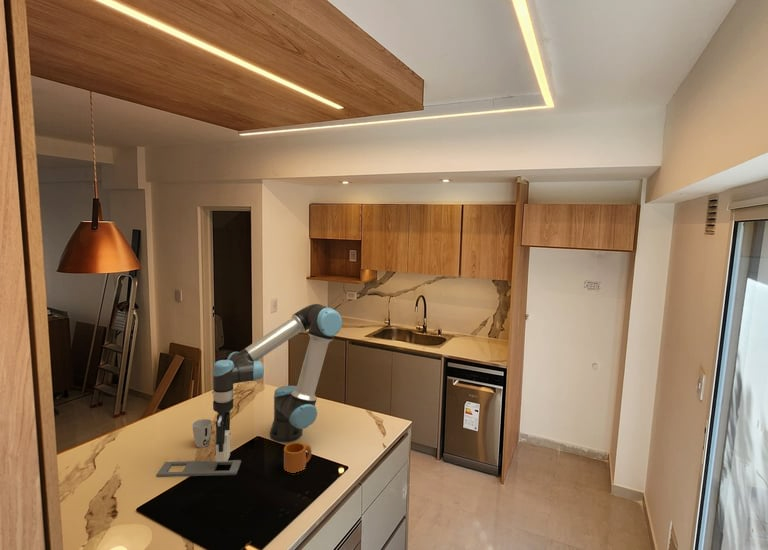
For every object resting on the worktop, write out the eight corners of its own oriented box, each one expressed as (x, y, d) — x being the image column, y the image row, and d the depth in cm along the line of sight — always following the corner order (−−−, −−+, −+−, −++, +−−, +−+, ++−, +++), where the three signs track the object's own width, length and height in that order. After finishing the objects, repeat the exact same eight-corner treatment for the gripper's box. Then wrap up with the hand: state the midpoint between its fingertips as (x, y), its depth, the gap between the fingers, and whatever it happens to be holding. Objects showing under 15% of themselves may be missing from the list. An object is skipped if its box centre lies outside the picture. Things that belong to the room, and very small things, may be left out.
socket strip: (241, 462, 179) (241, 460, 179) (236, 474, 170) (236, 472, 170) (165, 464, 176) (165, 461, 175) (156, 476, 167) (156, 474, 167)
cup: (205, 450, 187) (205, 428, 186) (188, 447, 189) (188, 425, 188) (215, 441, 195) (215, 420, 194) (200, 438, 197) (199, 418, 196)
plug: (229, 455, 176) (230, 430, 174) (227, 461, 171) (227, 435, 170) (217, 455, 175) (217, 430, 174) (214, 461, 171) (214, 435, 170)
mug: (316, 469, 177) (316, 448, 175) (287, 476, 171) (287, 455, 169) (308, 458, 184) (309, 438, 183) (281, 465, 178) (281, 444, 177)
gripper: (219, 390, 179) (219, 443, 181) (206, 408, 161) (207, 467, 164) (237, 390, 179) (237, 443, 182) (227, 408, 162) (227, 466, 165)
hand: (223, 454), depth 173 cm, fingers closed on plug, 4 cm apart
